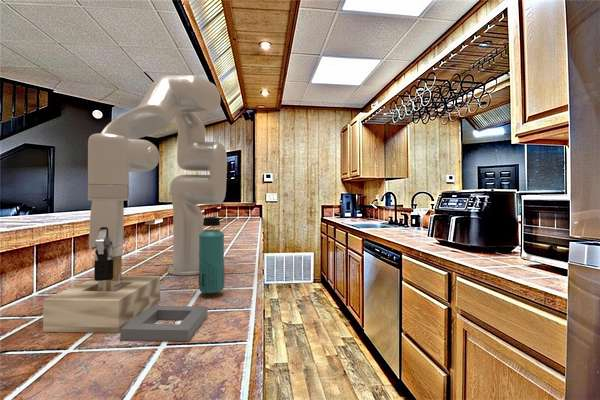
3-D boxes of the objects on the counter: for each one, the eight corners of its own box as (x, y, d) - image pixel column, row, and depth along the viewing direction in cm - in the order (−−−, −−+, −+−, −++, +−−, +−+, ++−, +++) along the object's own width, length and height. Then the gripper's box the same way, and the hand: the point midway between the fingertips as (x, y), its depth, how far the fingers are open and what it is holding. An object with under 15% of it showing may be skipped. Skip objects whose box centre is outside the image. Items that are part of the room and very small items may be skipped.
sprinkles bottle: (122, 310, 70) (123, 247, 69) (97, 314, 67) (98, 248, 67) (120, 304, 74) (121, 244, 73) (96, 307, 71) (97, 245, 71)
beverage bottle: (229, 292, 86) (230, 216, 86) (214, 300, 80) (215, 218, 79) (208, 290, 88) (208, 215, 88) (192, 297, 82) (192, 217, 82)
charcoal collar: (151, 314, 70) (151, 305, 70) (207, 315, 70) (207, 306, 70) (120, 340, 58) (120, 329, 58) (188, 341, 58) (188, 330, 58)
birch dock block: (101, 299, 79) (101, 274, 79) (159, 300, 79) (159, 275, 79) (43, 331, 61) (43, 299, 61) (118, 332, 61) (118, 300, 61)
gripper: (98, 192, 76) (98, 266, 77) (76, 193, 60) (76, 286, 61) (134, 193, 79) (134, 264, 79) (122, 194, 63) (122, 283, 63)
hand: (109, 274), depth 70 cm, fingers open, 9 cm apart
